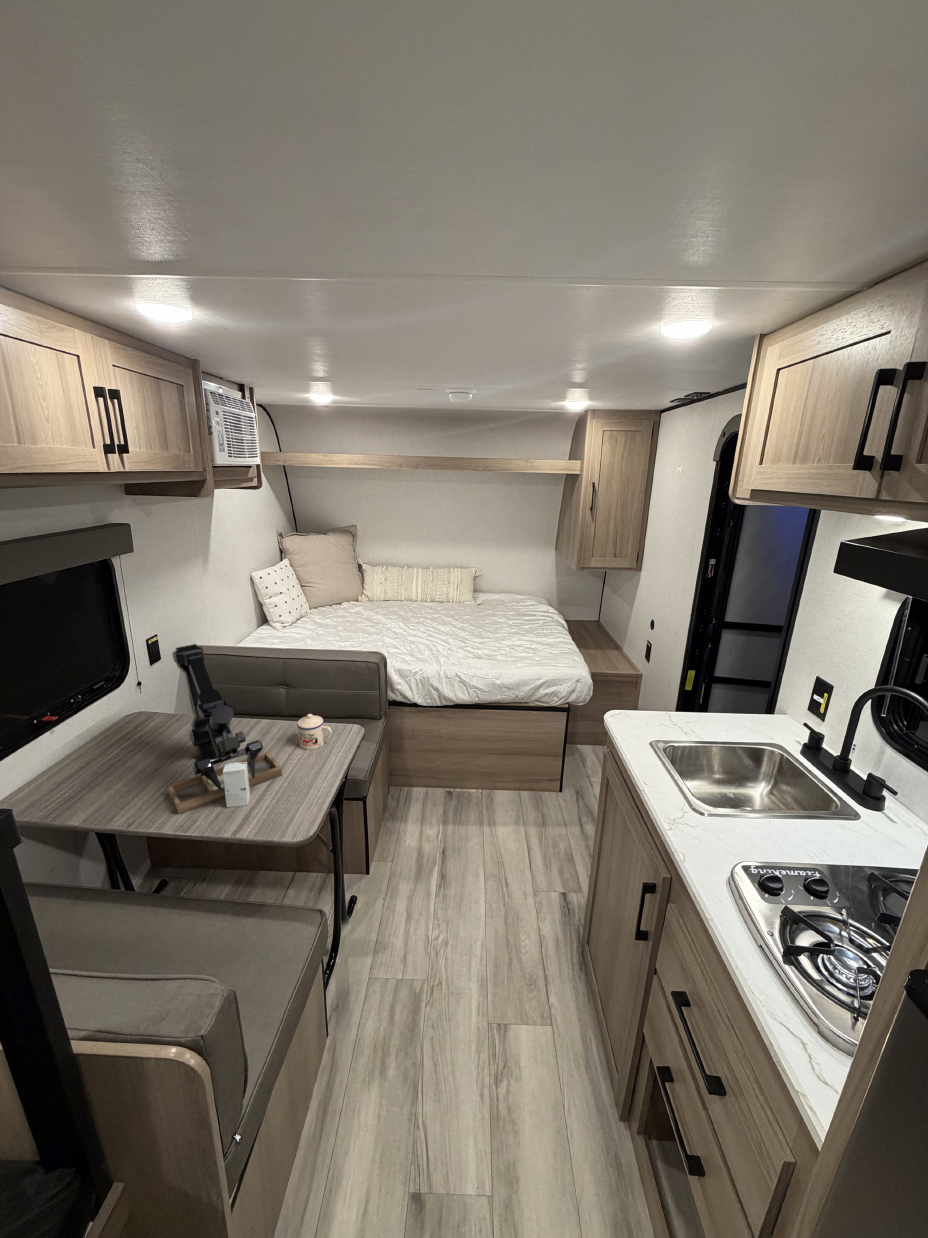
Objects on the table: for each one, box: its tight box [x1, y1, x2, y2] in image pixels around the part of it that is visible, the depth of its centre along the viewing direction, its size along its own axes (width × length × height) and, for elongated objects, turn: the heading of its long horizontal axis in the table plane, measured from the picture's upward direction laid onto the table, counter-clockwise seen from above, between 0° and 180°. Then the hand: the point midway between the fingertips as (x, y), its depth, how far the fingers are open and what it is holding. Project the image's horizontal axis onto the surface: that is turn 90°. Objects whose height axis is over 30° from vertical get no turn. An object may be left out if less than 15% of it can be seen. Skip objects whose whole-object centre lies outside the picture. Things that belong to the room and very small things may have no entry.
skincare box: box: [223, 761, 251, 808], centre depth 148 cm, size 6×4×12 cm
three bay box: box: [167, 751, 283, 815], centre depth 157 cm, size 12×30×3 cm, turn 131°
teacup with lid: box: [296, 713, 333, 751], centre depth 179 cm, size 12×9×12 cm
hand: (237, 784), depth 147 cm, fingers open, 9 cm apart
